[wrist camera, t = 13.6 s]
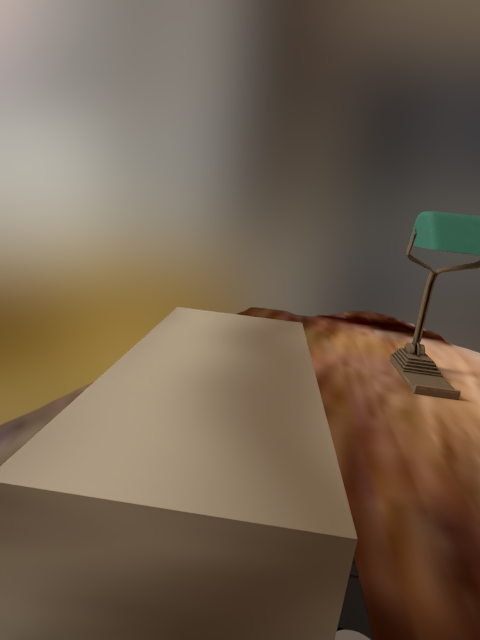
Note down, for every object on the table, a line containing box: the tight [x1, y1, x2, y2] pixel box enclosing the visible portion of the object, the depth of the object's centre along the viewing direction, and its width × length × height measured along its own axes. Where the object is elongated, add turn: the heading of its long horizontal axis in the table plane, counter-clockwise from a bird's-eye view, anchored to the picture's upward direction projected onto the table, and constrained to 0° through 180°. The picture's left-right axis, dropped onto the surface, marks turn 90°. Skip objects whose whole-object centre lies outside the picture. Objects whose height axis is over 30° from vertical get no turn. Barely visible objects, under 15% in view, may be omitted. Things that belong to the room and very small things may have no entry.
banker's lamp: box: [390, 211, 480, 400], centre depth 82 cm, size 16×21×35 cm
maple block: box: [0, 307, 358, 640], centre depth 13 cm, size 6×12×11 cm, turn 175°
